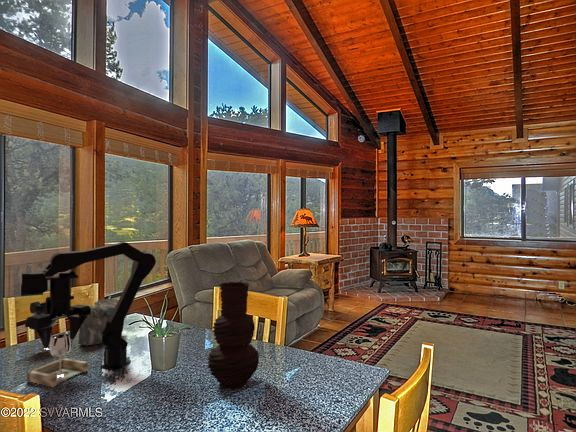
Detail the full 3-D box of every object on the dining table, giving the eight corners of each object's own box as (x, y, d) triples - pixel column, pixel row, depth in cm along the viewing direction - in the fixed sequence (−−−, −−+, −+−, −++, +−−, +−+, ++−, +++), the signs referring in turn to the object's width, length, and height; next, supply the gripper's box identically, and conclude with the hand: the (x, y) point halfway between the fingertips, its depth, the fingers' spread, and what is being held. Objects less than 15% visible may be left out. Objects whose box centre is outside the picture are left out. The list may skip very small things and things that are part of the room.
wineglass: (74, 371, 123) (75, 333, 123) (62, 379, 117) (62, 339, 117) (57, 370, 123) (58, 332, 123) (44, 378, 117) (45, 338, 117)
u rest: (87, 371, 124) (87, 362, 124) (52, 387, 112) (53, 377, 112) (63, 367, 127) (63, 357, 127) (27, 382, 116) (27, 372, 116)
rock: (107, 294, 168) (125, 291, 165) (115, 330, 169) (134, 328, 166) (67, 310, 148) (87, 307, 145) (77, 352, 149) (98, 350, 146)
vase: (268, 380, 119) (269, 282, 119) (237, 400, 106) (239, 290, 106) (229, 369, 127) (230, 278, 127) (196, 387, 114) (197, 285, 114)
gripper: (66, 286, 131) (65, 332, 131) (11, 296, 114) (10, 350, 114) (92, 288, 128) (91, 336, 128) (40, 299, 110) (39, 354, 110)
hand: (59, 343), depth 120 cm, fingers open, 9 cm apart
